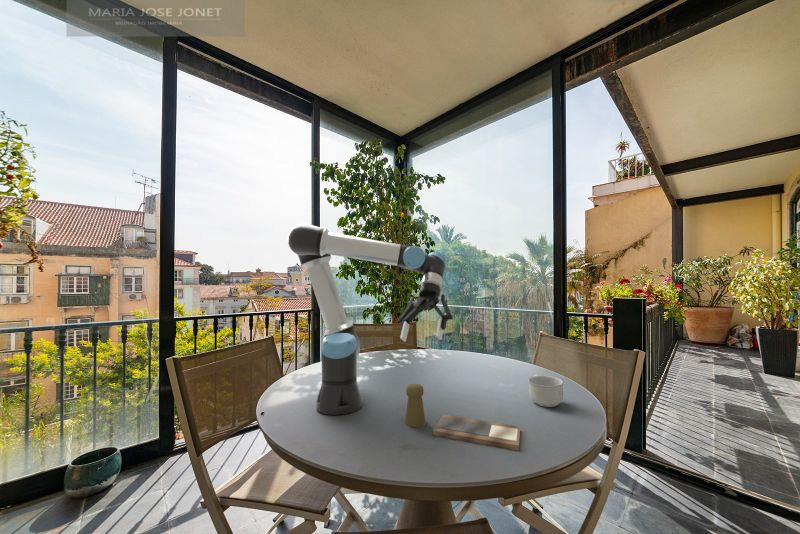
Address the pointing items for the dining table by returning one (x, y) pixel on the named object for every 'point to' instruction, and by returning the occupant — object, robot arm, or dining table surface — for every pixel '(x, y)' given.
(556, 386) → the teacup
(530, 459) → the dining table surface
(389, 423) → the dining table surface
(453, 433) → the brown frame
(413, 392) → the cork
